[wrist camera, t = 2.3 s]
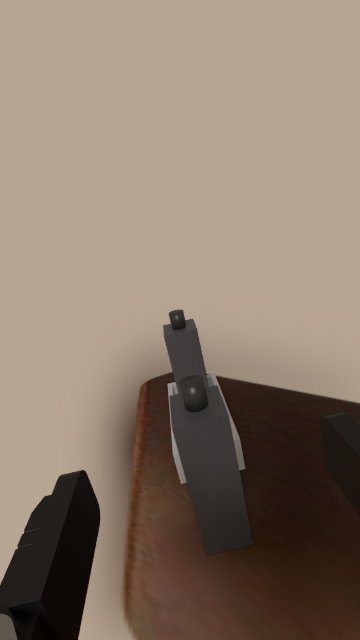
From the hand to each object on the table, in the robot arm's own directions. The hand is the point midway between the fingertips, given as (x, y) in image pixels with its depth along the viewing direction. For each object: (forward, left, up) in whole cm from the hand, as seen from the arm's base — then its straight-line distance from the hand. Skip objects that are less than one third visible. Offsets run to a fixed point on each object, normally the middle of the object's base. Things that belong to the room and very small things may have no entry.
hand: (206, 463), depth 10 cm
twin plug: (-12, -24, -18) cm, 33 cm away
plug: (-5, -10, -18) cm, 22 cm away
